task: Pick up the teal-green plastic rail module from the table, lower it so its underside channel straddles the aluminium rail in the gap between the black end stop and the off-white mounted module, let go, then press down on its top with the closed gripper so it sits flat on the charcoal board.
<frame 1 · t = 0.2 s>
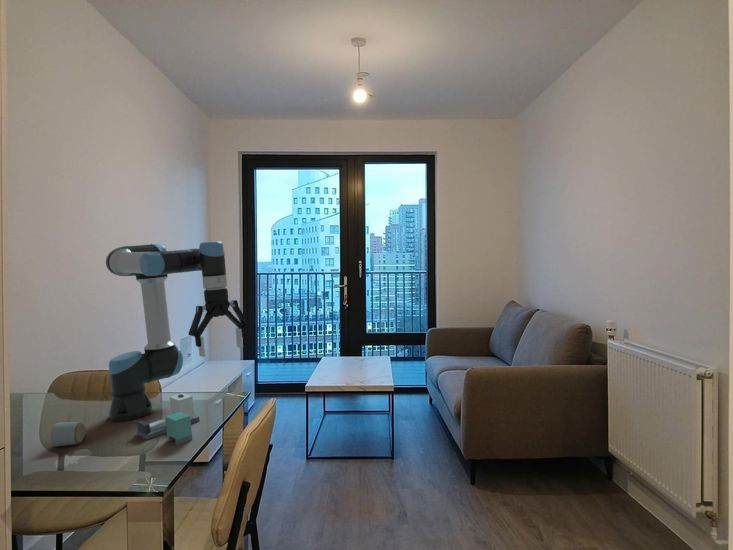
hand: (221, 351, 163), 27 cm above the table, tool pointing down, fingers open, 13 cm apart
ceramic mug: (71, 443, 165), on the table
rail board: (168, 427, 172), on the table
rail module: (179, 439, 161), on the table
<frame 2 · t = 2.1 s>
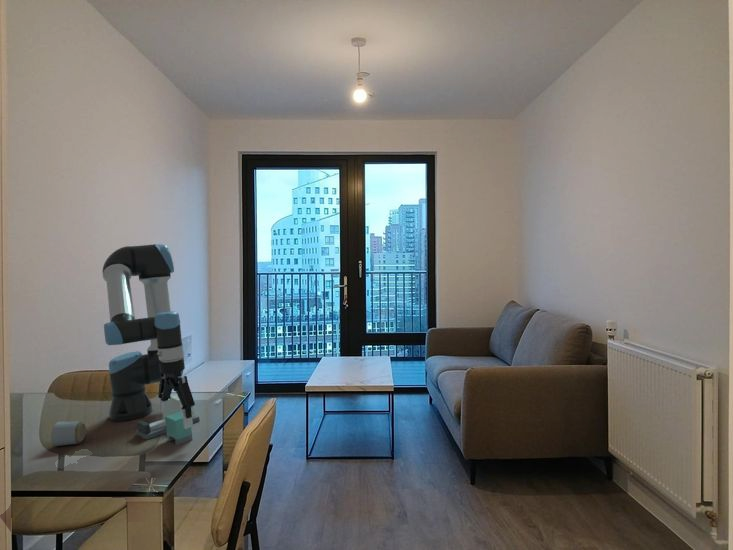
hand: (178, 423, 160), 6 cm above the table, tool pointing down, fingers open, 13 cm apart
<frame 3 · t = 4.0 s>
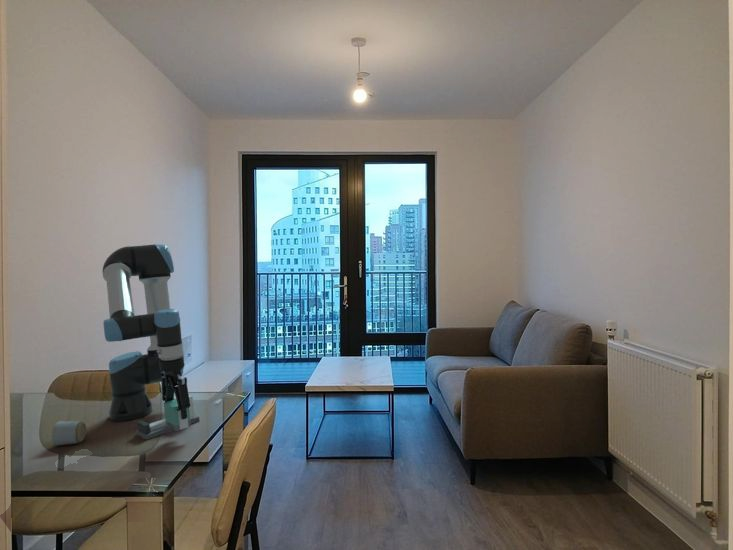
hand: (178, 425, 161), 5 cm above the table, tool pointing down, fingers closed on rail module, 7 cm apart
rail module: (178, 426, 161), point 4 cm above the table, touching gripper
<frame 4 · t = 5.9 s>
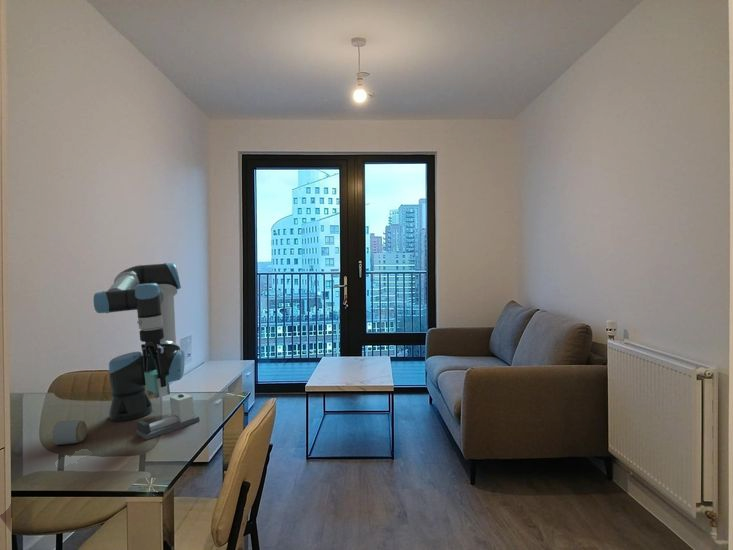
hand: (158, 393, 169), 13 cm above the table, tool pointing down, fingers closed on rail module, 7 cm apart
rail module: (158, 394, 169), point 13 cm above the table, touching gripper
when the fingers open (2 cm above the table, at t = 7.9 s): rail module stays where it is, resting on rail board.
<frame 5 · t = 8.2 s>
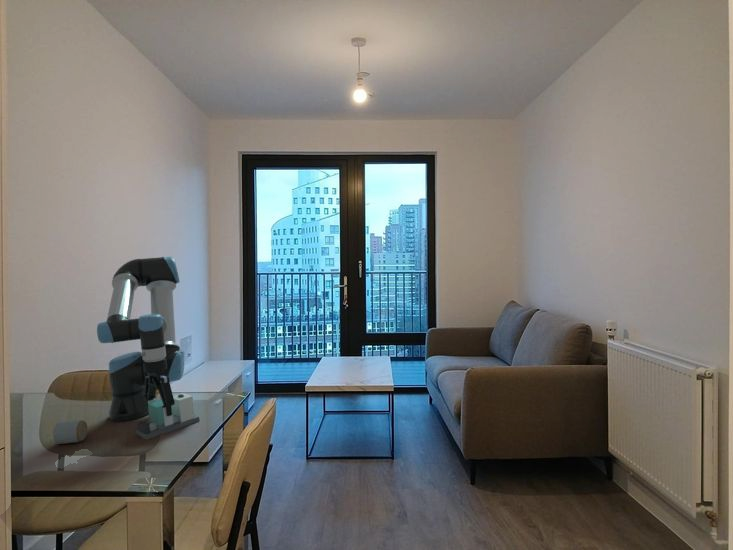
hand: (161, 421, 170), 3 cm above the table, tool pointing down, fingers open, 11 cm apart
rail module: (161, 425, 171), point 1 cm above the table, touching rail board
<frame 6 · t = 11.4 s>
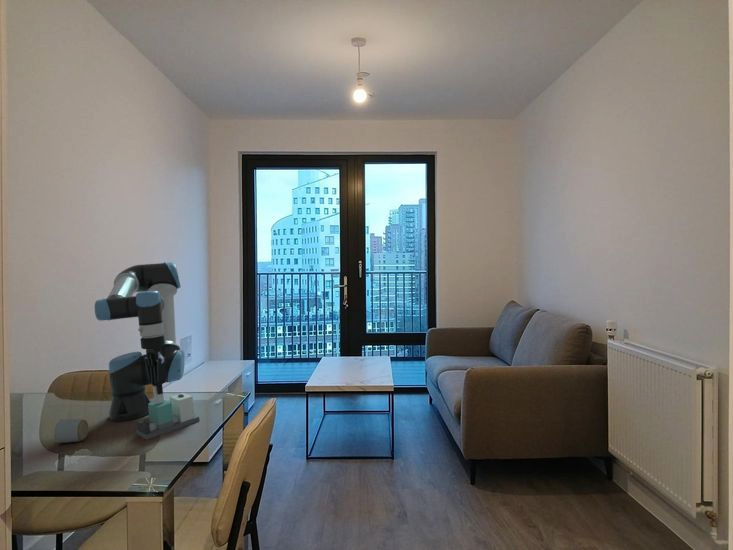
hand: (159, 402, 170), 10 cm above the table, tool pointing down, fingers closed
rail module: (161, 425, 171), point 2 cm above the table, touching gripper, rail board
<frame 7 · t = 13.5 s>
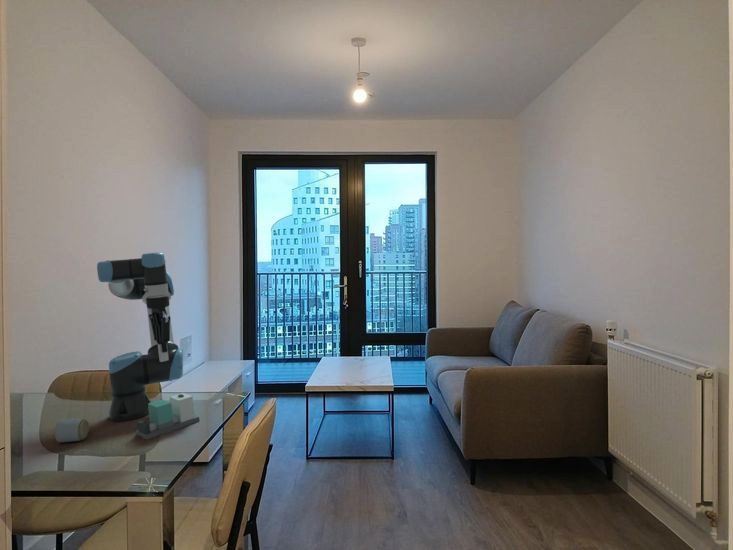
hand: (164, 360, 177), 23 cm above the table, tool pointing down, fingers closed
rail module: (161, 425, 171), point 1 cm above the table, touching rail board
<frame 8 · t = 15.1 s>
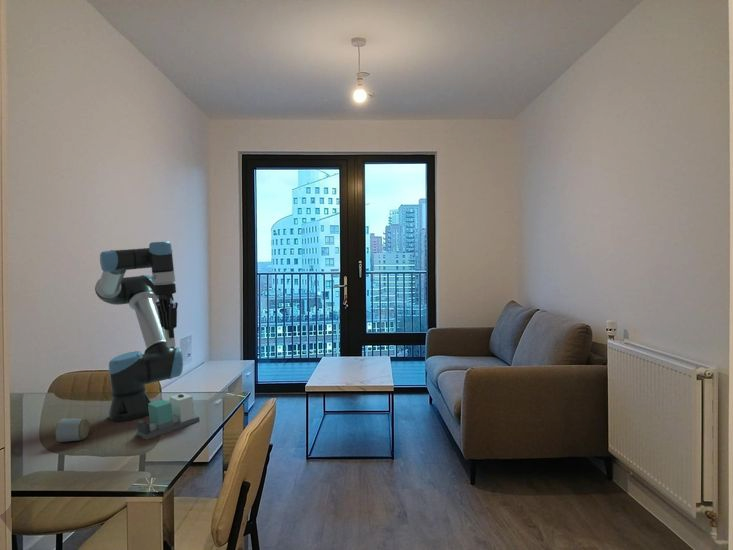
hand: (171, 346, 182), 26 cm above the table, tool pointing down, fingers closed
at the end: rail module 0.1 cm from the target spot on the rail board, point 1.5 cm above the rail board's base; rail module tilted 0°; the gripper is holding nothing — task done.
